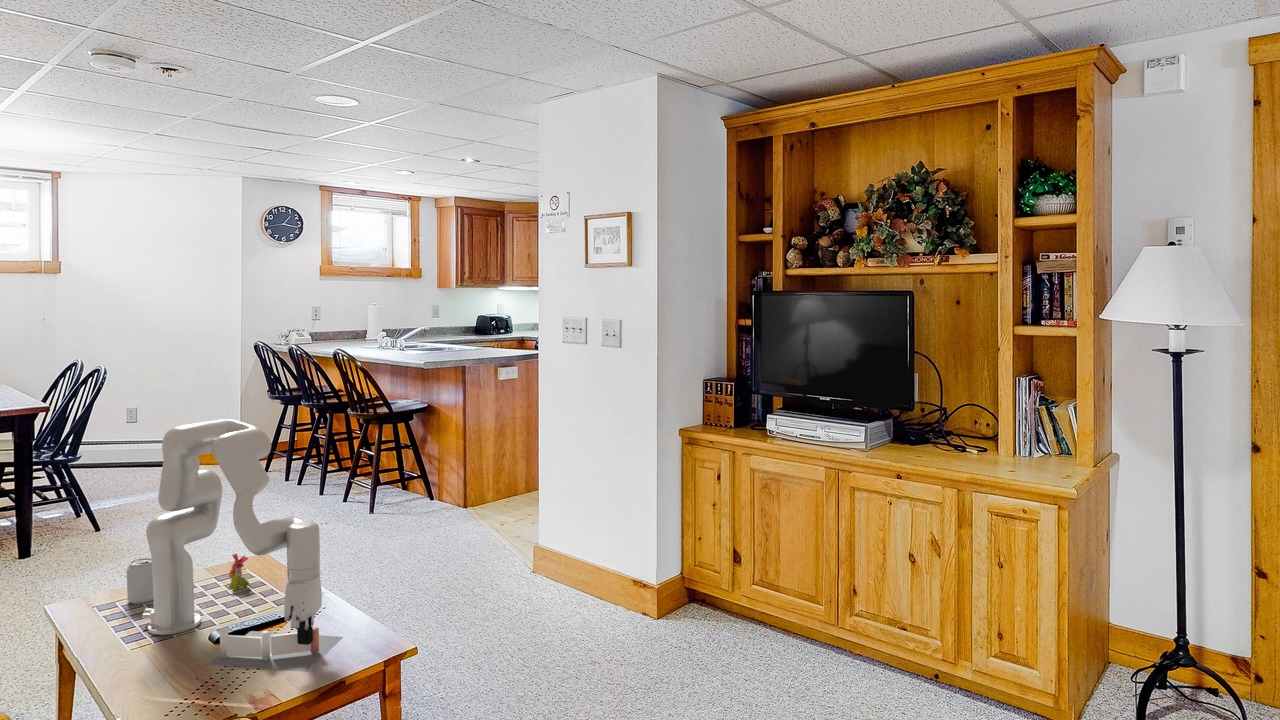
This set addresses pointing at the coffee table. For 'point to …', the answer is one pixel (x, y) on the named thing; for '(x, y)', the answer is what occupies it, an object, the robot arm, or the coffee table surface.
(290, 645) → the fence swing section
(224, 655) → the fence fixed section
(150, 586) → the can
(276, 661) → the card
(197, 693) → the coffee table surface
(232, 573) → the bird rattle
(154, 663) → the coffee table surface
